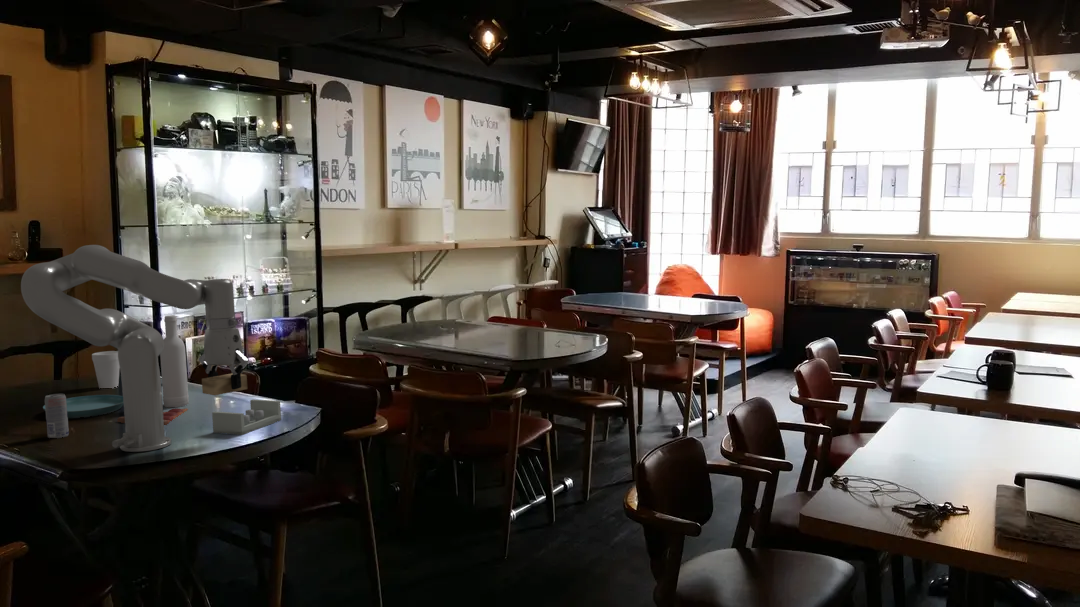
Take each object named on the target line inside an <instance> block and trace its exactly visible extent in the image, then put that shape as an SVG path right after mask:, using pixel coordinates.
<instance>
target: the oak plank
mask: <svg viewBox="0 0 1080 607" xmlns="http://www.w3.org/2000/svg"><path fill="white" fill-rule="evenodd" d="M231 375H233V374H232V372H231V373H228V374H227V373H226V374H221V375H218V376H214V377H209V378H208V377H204V378H201V386H202V387H201V388H202V389H201V390H202V394H205V395H209V396H211V395H212V396H218V395H224V394H231V393H234V392H240V391H243V390H244V391H245V390H248V379H247V378H248V376H247V374H243V373H241V388H238V389H232V387H231Z"/></svg>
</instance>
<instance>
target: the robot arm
mask: <svg viewBox="0 0 1080 607" xmlns="http://www.w3.org/2000/svg"><path fill="white" fill-rule="evenodd" d="M92 280H93V281H96V282H99V283H103V284H105V285H108V286H112V287H115V288H118V289H121V290H124V291H128V292H131V293H133V294H135V295H137V296H141V297H144V298H146V299H148V300H151V301H154V302H157V303H158V304H159V303H160V304H164V305H165V306H166V305H167V306H169V307H173V308H176V309H179V310H190V309H192V308H193V309H194V308H195V307H197V306H201V305H204V308H205V310H204V311H205V312H204V313H205V324H206V329H205V330H204V339H203V354H202V355H201V356H200V357H198V361H199V362H200V364H201V365H202V368H203V369H204V370H205V373H206V374H207V375H208V376H207V378H209V377H214V376H219V372H218V371H217V369H218V366H225V367H226V366H227V367H229V369H230V371H231V373H232V374H233V375H231V387H232V389H238V388H241V374H243V373H244V370H246V366H247V365H248V364H249V359H248V358H247V356H245V355H244V348H243V341H242V338H241V334H240V329H239V328H237V325H238V324H239V322H238V320H236V314H235V312H236V311H235V295H234V284H233V282H232V280H231V279H228V278H214V279H213V278H212V279H208V280H206V279H194V278H190V279H185V280H184V279H179V278H176V277H174V276H170V275H167V274H164V273H163V272H160V271H157V270H155V269H153V268H151V267H150V266H149V265H148V264H147V263H145V262H143V261H140V260H138V259H135V258H131V257H129V256H125V255H122V254H119V253H116V252H114V251H113V252H112V251H110V249H108V248H107V247H105V246H103V245H99V244H89V245H88V244H87V245H83V246H80V247H78V248H77V249H76V250H75V251H74V252H73V253H70V254H67V255H65V256H62V257H59V258H57V259H54V260H51V261H47V262H45V261H44V262H40V263H36V264H34V265H31V266H30V267H28V268H27V269H26V270H25V271H24V273H23V275H22V277H21V281H20V292H21V295H22V298H23V302H24V303H25V304H26V306H27V307H28V308H29V309H30V310H31V312H33V313H34V314H35V315H37V316H38V317H40V318H41V319H43V320H45V321H46V322H49V323H50V324H52V325H54V326H56V327H58V328H60V329H62V330H64V331H66V332H68V333H69V334H70V335H71V334H72V335H74V336H76V337H77V338H80V339H82V340H84V341H85V342H88V343H89V344H91V345H92V346H96V347H106V346H111V347H113V348H115V349H117V351H118V360H119V366H120V369H119V372H120V379H121V390H122V396H123V402H124V405H123V412H124V413H123V414H124V417H125V423H124V426H125V432H123V433H122V437H121V438H118V439H115V440H112V441H111V446H112V447H113V448H115V449H116V448H120V450H121V451H123V452H131V453H137V452H139V453H140V452H149V451H155V450H158V449H164V448H165V447H168V446H170V445H171V444H172V438H171V437H168V436H165V426H164V420H163V412H164V411H163V410H164V408H163V407H164V405H163V390H162V378H161V372H160V370H161V369H160V366H159V357H160V354H161V352H162V351H163V348H164V338H163V336H162V334H161V333H160V332H159V331H158V330H157V329H156V328H154V327H152V326H150V325H148V324H146V323H145V322H142V321H140V320H138V319H136V318H134V317H132V316H130V315H129V314H127V313H125V312H122V311H120V310H117V309H115V308H102V309H99V308H96V307H94V306H91V305H89V304H88V303H85V302H83V301H82V300H80V299H78V298H75V297H73V296H71V295H69V294H66V293H65V292H64V291H66V290H69V289H72V288H74V287H76V286H79V285H81V284H84V283H87V282H89V281H92Z"/></svg>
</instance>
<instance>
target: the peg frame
mask: <svg viewBox="0 0 1080 607" xmlns="http://www.w3.org/2000/svg"><path fill="white" fill-rule="evenodd" d="M249 401H250V409H246V410H245V414H244V413H243V412H229V411H228V412H227V411H217V410H216V411H215V410H214V411H212V413H211V416H212V431H213V434H222V433H227V434H226V435H236V436H243V435H246V434H248V433H251V432H255V431H256V430H260V429H261V428H264V427H267V426H271V425H273V424H275V422H276V423H278V422H281V421H282V410H281V409H282V408H281V400H269V399H267V400H266V399H254V398H252V399H250V400H249ZM280 420H281V421H280ZM277 421H278V422H277Z"/></svg>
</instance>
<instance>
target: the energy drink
mask: <svg viewBox="0 0 1080 607" xmlns="http://www.w3.org/2000/svg"><path fill="white" fill-rule="evenodd" d="M66 399H67V396H66V395H65V393H53V394H49V395H48V394H47V395H45V397H44V405H45V410H44V411H46V412H45V420H46V432H47V434H46V435H47V438H49V439H50V438H57V439H62V437H63V438H67V437H68V436H69V433H70V431H69V418H68V416H67V404H66Z"/></svg>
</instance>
